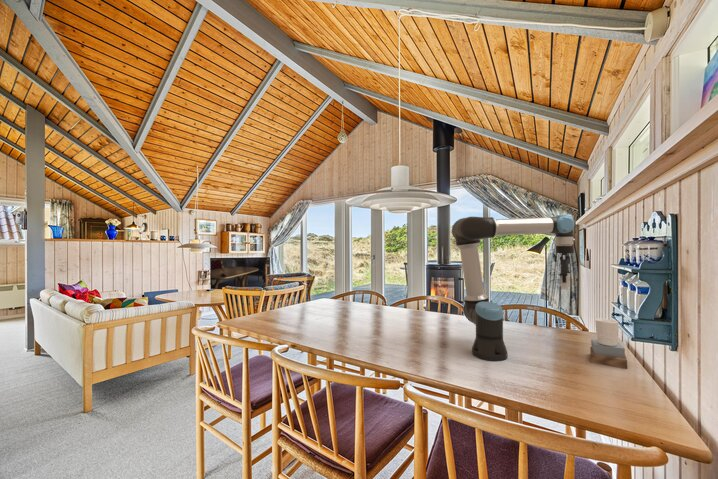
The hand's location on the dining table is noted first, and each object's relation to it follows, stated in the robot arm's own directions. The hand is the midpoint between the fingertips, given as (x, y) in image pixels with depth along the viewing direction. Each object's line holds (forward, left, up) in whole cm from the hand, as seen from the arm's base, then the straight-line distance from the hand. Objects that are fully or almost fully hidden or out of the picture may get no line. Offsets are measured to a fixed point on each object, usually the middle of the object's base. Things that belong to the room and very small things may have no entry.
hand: (565, 287), depth 158 cm
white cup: (+16, -15, -21) cm, 31 cm away
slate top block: (+16, -14, -25) cm, 33 cm away
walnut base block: (+16, -15, -29) cm, 36 cm away
